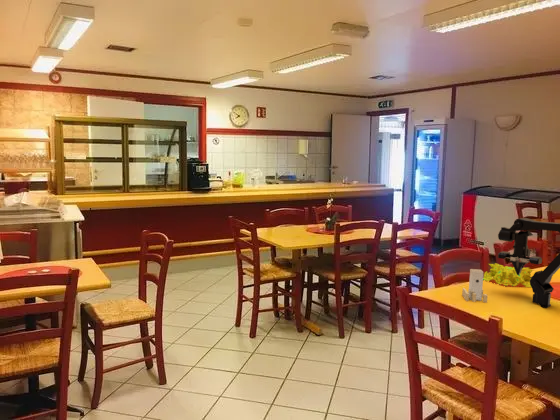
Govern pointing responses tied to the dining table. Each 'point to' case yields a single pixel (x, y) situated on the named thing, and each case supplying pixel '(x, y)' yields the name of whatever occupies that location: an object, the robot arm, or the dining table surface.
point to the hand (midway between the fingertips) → (518, 274)
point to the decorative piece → (508, 276)
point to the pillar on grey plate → (476, 283)
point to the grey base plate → (473, 296)
